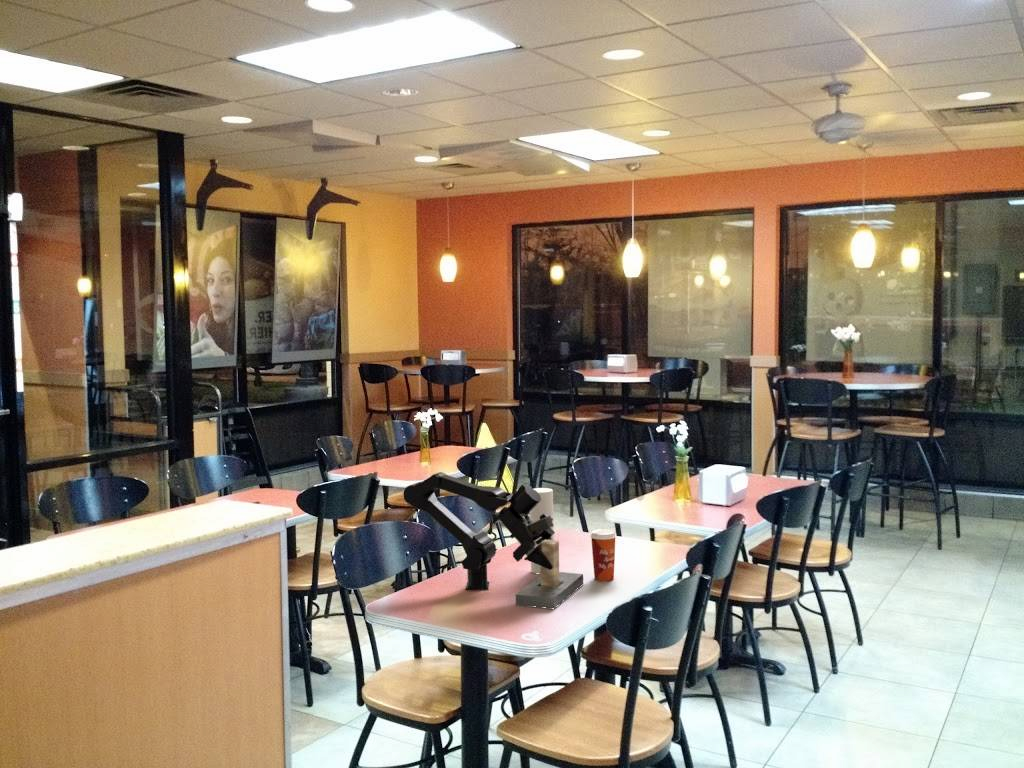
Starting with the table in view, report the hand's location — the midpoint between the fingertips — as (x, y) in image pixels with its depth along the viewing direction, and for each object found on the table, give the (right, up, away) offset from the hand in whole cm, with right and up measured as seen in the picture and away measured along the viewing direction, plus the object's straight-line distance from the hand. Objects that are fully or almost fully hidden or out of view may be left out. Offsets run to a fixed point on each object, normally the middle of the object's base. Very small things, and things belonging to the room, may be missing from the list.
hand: (554, 566), depth 255 cm
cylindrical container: (-2, -6, +25) cm, 25 cm away
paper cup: (+15, -7, +15) cm, 23 cm away
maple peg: (-1, -7, +1) cm, 7 cm away
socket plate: (-1, -8, +1) cm, 8 cm away
